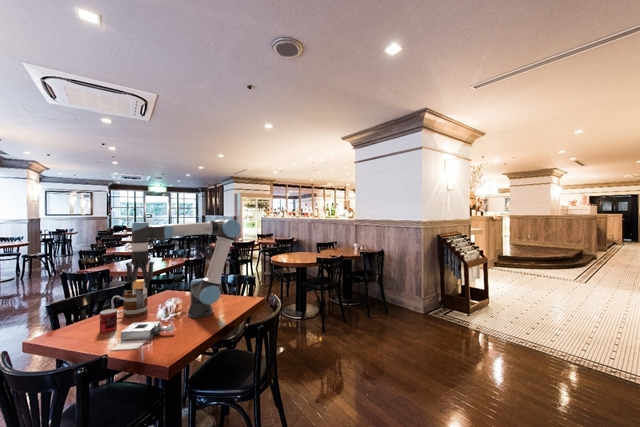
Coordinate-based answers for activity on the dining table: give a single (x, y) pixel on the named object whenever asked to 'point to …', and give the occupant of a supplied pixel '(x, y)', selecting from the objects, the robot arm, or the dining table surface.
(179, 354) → the dining table surface
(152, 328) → the block
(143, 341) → the rest mat
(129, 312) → the mug
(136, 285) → the key
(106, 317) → the canned food
